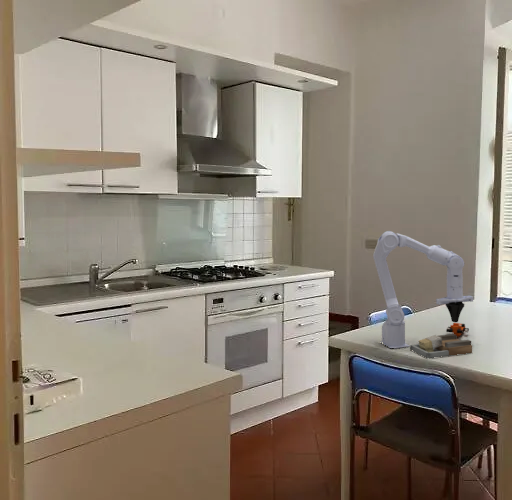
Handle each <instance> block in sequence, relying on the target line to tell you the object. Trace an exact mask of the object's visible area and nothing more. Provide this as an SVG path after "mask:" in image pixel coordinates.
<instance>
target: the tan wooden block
mask: <svg viewBox="0 0 512 500" xmlns="http://www.w3.org/2000/svg"><path fill="white" fill-rule="evenodd" d="M426 338H427V337H426ZM426 338H422V339H420V340H419V339H418V344H419V346H420V348H421V349H423V350H425V351H427V352H434V351H433V346H432V341H430V340H428V339H426Z"/></svg>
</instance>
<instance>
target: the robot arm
mask: <svg viewBox="0 0 512 500" xmlns="http://www.w3.org/2000/svg"><path fill="white" fill-rule="evenodd" d="M397 247H399V248H404V247H407V248H411V249H412V250H414V251H418V252H419V253H423V254H425V255H426V258H427V259H428V260H430V261H432V262H434V263H437V264H439V265H441V266H446V267H447V268H446V272H447V273H446V297H440V298H436V299H435V301H436V303H435V304H436V305H438V306H441V305H445V307H446V309H447V310H448V313H449V315H450V319H451V322H453V323H459V319H460V316H461V312H462V311H463V309H464V307H465V303H466V302H467V303H469V302H470V303H471V302H474V296H472V295H464V289H463V288H464V278H463V277H464V275H463V272H464V271H463V270H464V269H463V268H464V267H465V261H464V258H463V257H461V256H460V255H458V254H457V253H455V252H454V251H452V250H450V251H449V250H448V249H445V248H443V247H442V246H441V245H440V244H437V245H435V244H433V245H430V246H429V245H426V244H424V243H422V242H420V241H418V240H416V239H414V238H412V237H410V236H408V235H404V234H401V233H399V232H396V233H395V232H394V231H391V230H387V231H386V230H385V231H384V232H383V233H382V234H381V235H380V236H379V238H378V239H377V243H376V246H375V248H374V250H373V251H374V252H373V254H372V256H373V258H372V259H373V261H374V264H375V265H374V266H375V269H376V271H377V275H378V279H379V282H380V286H381V289H382V293H383V296H384V300H385V304H386V308H385V313H386V318H387V319H386V320H385V321H383V324H382V325H381V341H380V342H381V343H382V342H383V344H384V345H383V344H382V345H383V346H385V345H386V346H385V347H387V346H388V347H387V348H388V349H390V348H394V349H401V348H402V349H403V348H410V345H411V344H408V343H406V321H405V312H404V311H403V308H402V306H401V304H399V301H398V297H397V292H396V290H395V287H394V283H393V279H392V275H391V272H390V269H389V264H388V261H387V258H388V256H389V255H390V253H391V252H392V251H393V250H395V249H396V248H397ZM381 343H380V344H381Z"/></svg>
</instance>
